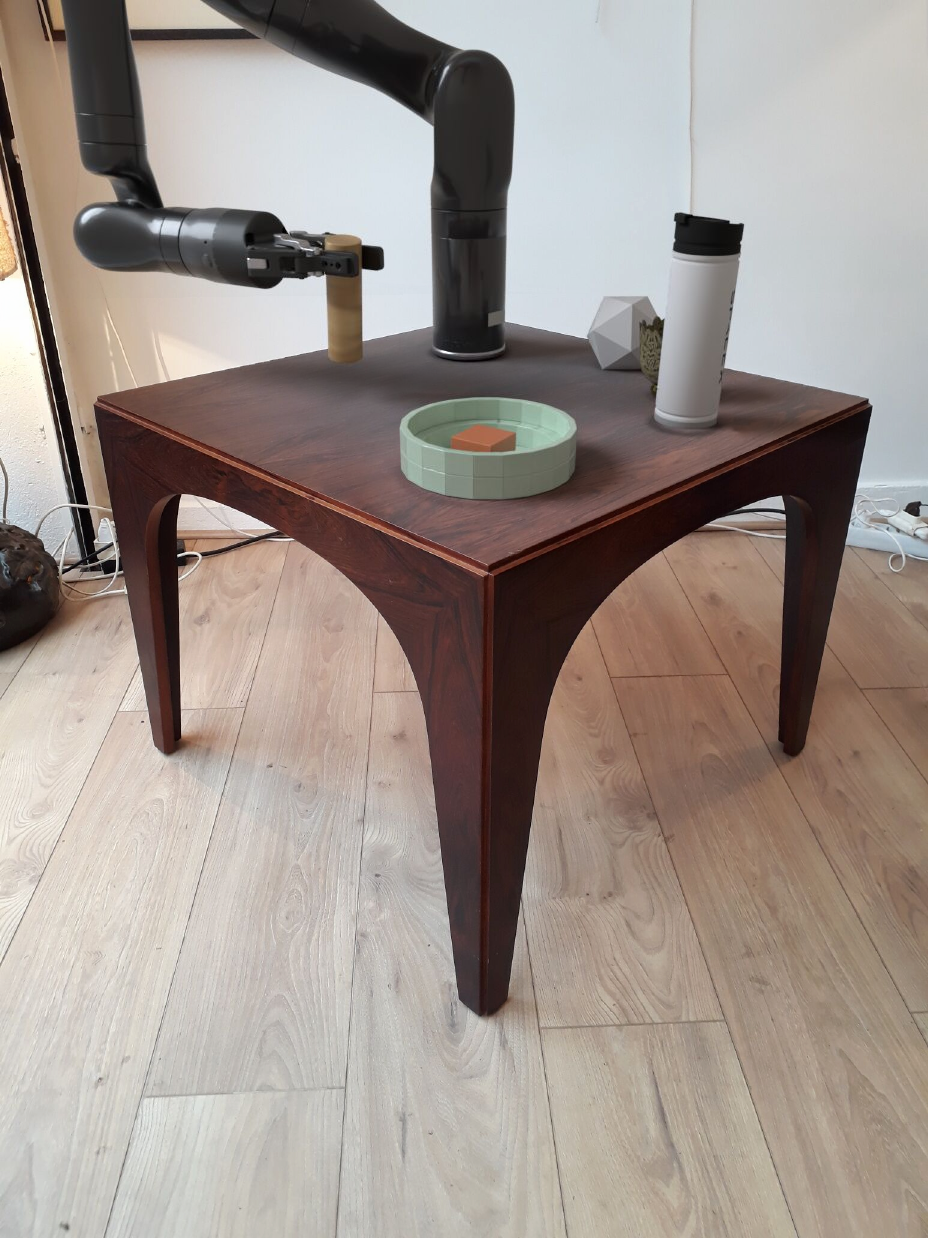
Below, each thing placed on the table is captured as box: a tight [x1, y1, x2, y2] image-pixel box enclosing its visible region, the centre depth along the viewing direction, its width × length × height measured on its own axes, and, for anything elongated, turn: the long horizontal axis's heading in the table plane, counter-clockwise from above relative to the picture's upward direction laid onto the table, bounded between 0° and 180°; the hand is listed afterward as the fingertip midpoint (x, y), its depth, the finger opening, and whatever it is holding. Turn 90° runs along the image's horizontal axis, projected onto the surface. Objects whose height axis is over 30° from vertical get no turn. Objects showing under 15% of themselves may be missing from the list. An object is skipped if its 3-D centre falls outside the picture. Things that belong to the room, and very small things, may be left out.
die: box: [586, 295, 658, 370], centre depth 110 cm, size 8×9×10 cm
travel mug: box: [653, 212, 745, 430], centre depth 88 cm, size 6×7×20 cm
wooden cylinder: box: [325, 233, 364, 365], centre depth 93 cm, size 4×4×12 cm
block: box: [451, 424, 516, 452], centre depth 78 cm, size 4×4×4 cm
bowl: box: [399, 396, 578, 501], centre depth 81 cm, size 15×15×4 cm
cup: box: [639, 315, 665, 398], centre depth 99 cm, size 8×7×8 cm
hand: (369, 261), depth 89 cm, fingers closed on wooden cylinder, 3 cm apart
